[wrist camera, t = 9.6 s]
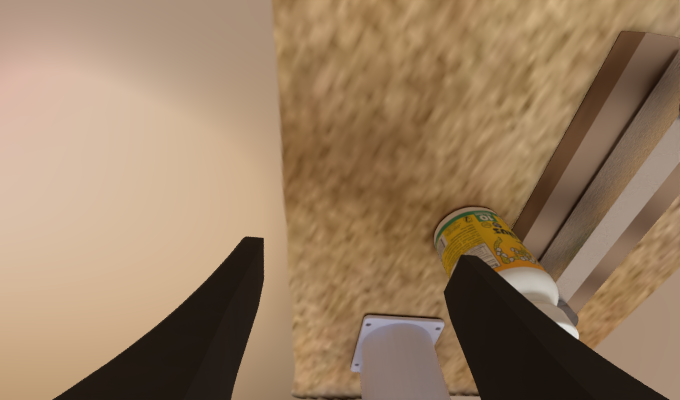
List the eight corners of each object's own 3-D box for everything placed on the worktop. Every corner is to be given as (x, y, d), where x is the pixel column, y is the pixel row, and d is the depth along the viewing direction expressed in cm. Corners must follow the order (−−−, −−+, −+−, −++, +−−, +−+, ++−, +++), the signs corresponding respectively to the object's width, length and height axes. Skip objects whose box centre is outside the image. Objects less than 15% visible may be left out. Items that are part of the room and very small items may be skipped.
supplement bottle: (418, 234, 23) (465, 350, 15) (475, 191, 21) (564, 297, 13) (458, 266, 25) (518, 384, 17) (513, 229, 23) (611, 342, 15)
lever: (539, 309, 26) (596, 388, 20) (501, 306, 26) (548, 386, 20) (728, 55, 15) (952, 76, 10) (667, 45, 15) (862, 61, 10)
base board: (562, 304, 29) (573, 318, 27) (474, 298, 28) (481, 312, 26) (762, 54, 17) (797, 57, 16) (621, 31, 16) (646, 32, 15)
